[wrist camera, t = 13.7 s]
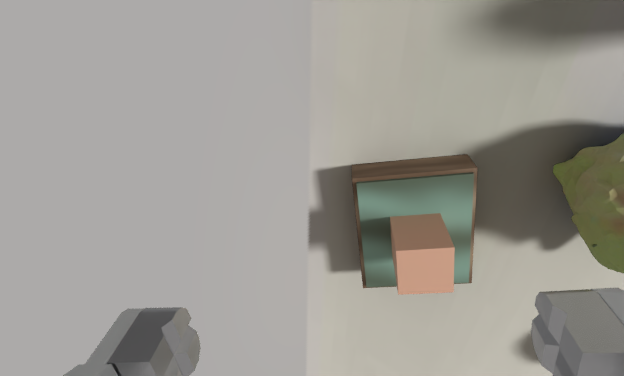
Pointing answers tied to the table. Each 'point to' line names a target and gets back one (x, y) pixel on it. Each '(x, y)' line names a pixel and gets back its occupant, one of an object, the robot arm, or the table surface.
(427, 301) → the table surface
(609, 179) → the earth globe model
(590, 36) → the table surface
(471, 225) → the green lidded wooden box
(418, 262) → the terracotta block
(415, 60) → the table surface
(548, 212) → the table surface
